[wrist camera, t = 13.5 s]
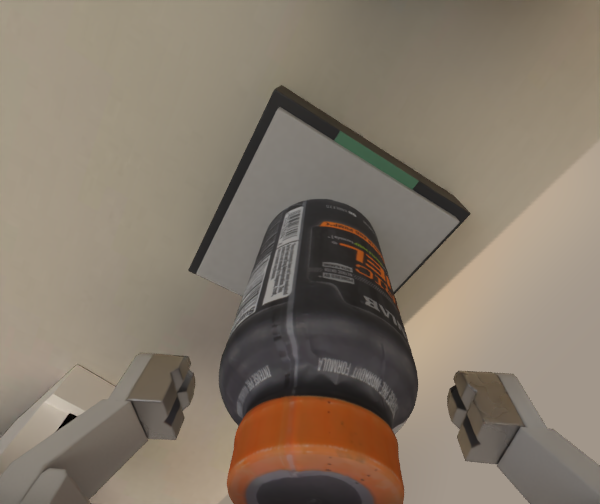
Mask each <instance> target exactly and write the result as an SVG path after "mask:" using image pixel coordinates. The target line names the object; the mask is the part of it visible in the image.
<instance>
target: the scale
mask: <svg viewBox="0 0 600 504" xmlns="http://www.w3.org/2000/svg"><path fill="white" fill-rule="evenodd" d="M310 199H331V200H334V201H338V202H341V203H344V204H347V205H349V206H351V207H353V208H355V209H356V210H358V211H359V212H360V213H361V214H363V215H364V216H365V217H366V218H367V220H368V221H369V222H370V223H371V225H372V227H373V229H374V231H375V233H376V235H377V238H378V242H379V245H380V248H381V252H382V255H383V258H384V262H385V266H386V269H387V271H388V275H389V279H390V282H391V286H392V289H393V292H394V294H395V293H396V292H397V291H398V290H399V289H400V288H401V287H402V286H403V285H404V284H405V282H406V281H407V280H408V279H409V278H410V277H411V276H412V275H413V274H414V273H415V272H416V271H417V270H418V269H419V268H420V267H421V266H422V265H423V264H424V262H425V261H426V260H427V259H428V258H429V257H430V256H431V255H432V254H433V253H434V252H435V251H436V250H437V249H438V248H439V247H440V246H441V245H442V244H443V242H444V241H445V240H446V239H447V238H448V237H449V236H450V235H451V234H452V233H453V232H454V231H455V230H456V229H457V228H458V227H459V226H460V225H461V224H462V223H463V221H464V220H465V219H466V218H467V217H468V216H469V215H470V212H469V211H468V210H467V209H466V208H465V207H464V206H463V205H462V204H461V203H460V202H459V201H458V200H457V199H456V198H455V197H454V196H453V195H452V194H450V193H449V192H447V191H446V190H444V189H443V188H441V187H439V186H438V185H436V184H435V183H433V182H432V181H430V180H429V179H427V178H425V177H424V176H422V175H421V174H419V173H418V172H416V171H415V170H413V169H411V168H410V167H408V166H407V165H405V164H404V163H402V162H401V161H399V160H397V159H396V158H394V157H393V156H391V155H390V154H388V153H387V152H385V151H383V150H382V149H380V148H379V147H377V146H376V145H374V144H373V143H371V142H369V141H368V140H366V139H365V138H363V137H362V136H360V135H359V134H357V133H355V132H354V131H352V130H351V129H349V128H348V127H346V126H344V125H343V124H341V123H340V122H338V121H337V120H335V119H334V118H332V117H330V116H329V115H327V114H326V113H324V112H323V111H321V110H320V109H318V108H316V107H315V106H313V105H312V104H310V103H309V102H307V101H306V100H304V99H302V98H301V97H299V96H298V95H296V94H295V93H293V92H292V91H290V90H288V89H287V88H285V87H284V86H282V85H281V86H280V87H278V88H276V89H275V90H274V91H273V94H272V96H271V98H270V100H269V102H268V104H267V106H266V108H265V110H264V112H263V115H262V117H261V119H260V121H259V123H258V125H257V127H256V129H255V131H254V134H253V136H252V138H251V140H250V142H249V144H248V146H247V148H246V150H245V152H244V155H243V157H242V159H241V161H240V163H239V165H238V167H237V169H236V171H235V173H234V176H233V178H232V180H231V182H230V184H229V186H228V188H227V190H226V192H225V194H224V197H223V199H222V201H221V203H220V205H219V207H218V209H217V211H216V213H215V215H214V218H213V220H212V222H211V224H210V226H209V228H208V230H207V232H206V234H205V236H204V239H203V241H202V243H201V245H200V247H199V249H198V251H197V253H196V255H195V257H194V260H193V262H192V264H191V266H190V268H189V271H190V272H192V273H194V274H196V275H198V276H200V277H202V278H204V279H207V280H209V281H211V282H213V283H215V284H217V285H219V286H221V287H223V288H225V289H228V290H230V291H232V292H234V293H236V294H238V295H240V296H242V297H243V295H244V292H245V289H246V287H247V284H248V281H249V278H250V275H251V272H252V270H253V267H254V264H255V261H256V258H257V255H258V253H259V250H260V247H261V244H262V241H263V238H264V236H265V233H266V231H267V229H268V226H269V225H270V223H271V222H272V221H273V219H274V218H275V217H276V216H277V215H278V214H279V213H280V212H282V211H283V210H284V209H286V208H288V207H289V206H291V205H293V204H296V203H298V202H301V201H306V200H310Z"/></svg>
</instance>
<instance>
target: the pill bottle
mask: <svg viewBox="0 0 600 504" xmlns="http://www.w3.org/2000/svg"><path fill="white" fill-rule="evenodd" d="M219 388H220V393H221V396H222V399H223V402H224V404H225V407H226V409H227V411H228V412H229V414H230V415H231V417H232V418H233V420H234V421H235V422H236V423H237V424H238V426H239V427H238V429H237V432H236V436H235V442H234V451H233V456H232V460H231V465H230V469H229V473H228V479H227V487H228V493H229V496H230V498H231V500H232V502H233V503H234V504H403V500H404V486H403V481H402V476H401V470H400V463H399V458H398V442H397V439H396V437H395V434H396V433H397V432H398V430H400V428H401V427H402V426H403V425H404V423H405V422H406V421H407V419H408V418H409V416H410V414H411V413H412V411H413V408H414V406H415V401H416V397H417V391H418V378H417V370H416V366H415V362H414V359H413V356H412V353H411V349H410V346H409V343H408V339H407V335H406V332H405V329H404V325H403V323H402V319H401V316H400V312H399V309H398V306H397V302H396V298H395V296H394V292H393V289H392V286H391V282H390V279H389V275H388V271H387V269H386V266H385V262H384V258H383V255H382V252H381V248H380V245H379V242H378V238H377V235H376V233H375V231H374V229H373V227H372V225H371V223H370V222H369V221H368V220H367V218H366V217H365V216H364V215H363V214H361V213H360V212H359V211H358V210H356V209H355V208H353V207H351V206H349V205H347V204H344V203H341V202H338V201H334V200H331V199H310V200H306V201H301V202H298V203H296V204H293V205H291V206H289V207H288V208H286V209H284V210H283V211H282V212H280V213H279V214H278V215H277V216H276V217H275V218H274V219H273V221H272V222H271V223H270V225H269V226H268V229H267V231H266V233H265V236H264V238H263V241H262V244H261V247H260V250H259V253H258V255H257V258H256V261H255V264H254V267H253V270H252V272H251V275H250V278H249V281H248V284H247V287H246V289H245V292H244V295H243V298H242V301H241V303H240V306H239V309H238V312H237V315H236V318H235V321H234V324H233V327H232V330H231V333H230V336H229V339H228V342H227V344H226V347H225V350H224V352H223V355H222V359H221V363H220V369H219Z"/></svg>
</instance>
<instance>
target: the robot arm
mask: <svg viewBox="0 0 600 504" xmlns="http://www.w3.org/2000/svg"><path fill="white" fill-rule="evenodd" d="M190 365H191V362H190V358H189V357H188V356H177V355H165V354H152V353H139V354H138V355H137V356H136V357H135V358H134V359H133V361H132V362H131V364H130V365H129V367H128V369H127V370H126V372H125V373H124V375H123V376H122V378H121V379H120V381H119V382H118V384H117V386H116V387H115V389H114V390H113V392H112V393H111V395H110V396H109V398H108V399H102V400H101V401H99V402H98V403H97V404H95V405H94V406H92V407H91V408H89V409H88V410H86V411H85V412H84V413H82V414H81V415H79V416H78V417H76V418H75V419H73V420H72V421H71V422H69V423H68V424H66V425H65V426H63V427H62V428H60V429H59V430H58V431H56V432H55V433H53V434H52V435H50V436H49V437H47V438H46V439H45V440H43V441H42V442H40V443H39V444H37V445H36V446H34V447H33V448H32V449H30V450H29V451H27V452H26V453H24V454H23V455H21V456H20V457H19V458H17V459H16V460H14V461H13V462H11V463H10V465H9V466H8V467H7V468H6V470H5V471H4V472H3V474H2V475H1V476H0V504H91V502H90V501H89V499H90V498H91V497H92V496H93V495H94V494H95V493H96V492H97V491H98V490H99V489H100V488H101V487H102V486H103V485H104V484H105V483H106V482H107V481H108V480H109V479H110V478H111V477H112V476H113V475H114V474H115V473H116V472H117V471H118V470H119V469H120V468H121V467H122V466H123V465H124V464H125V463H126V462H127V461H128V460H129V459H130V458H131V457H132V456H133V455H134V454H135V453H136V452H137V451H138V450H139V449H140V448H141V447H142V446H143V445H144V444H145V443H146V442H147V441H148V439H168V440H176V438H177V436H178V433H179V431H180V428H181V426H182V423H183V421H184V415H183V410H184V409H185V408H186V407H187V406H189V405H190V403H191V400H192V398H193V395H194V389H195V377H194V373H193V372H192V371H190V370H189V368H190ZM454 382H455V384H456V385H455V386H453V387H452V388H450V390H449V393H448V396H447V397H448V398H447V400H448V401H447V402H448V403H447V404H448V405H447V406H448V410H449V415H450V418H451V421H452V422H453V423H454V424H455V425H456V426H457V427H458V428H459V429H460V431H459V433H458V435H457V438H458V441H459V444H460V447H461V450H462V453H463V456H464V458H465V461H470V462H480V463H489V464H498V465H497V467H498V468H499V469H500V470H501V471H502V472H503V474H504V475H505V476H506V477H507V478H508V479H509V480H510V482H511V483H512V484H513V485H514V486H515V487H516V488H517V489H518V491H519V492H520V493H521V494H522V495H523V496H524V497H525V499H526V500H527V501H528V502H529V503H530V504H600V465H598V464H597V463H596V462H595V461H593V460H592V459H591V458H589V457H588V456H587V455H586V454H584V453H583V452H582V451H581V450H579V449H578V448H577V447H576V446H574V445H573V444H572V443H570V442H569V441H568V440H566V439H565V438H564V437H563V436H562V435H560V434H559V433H558V432H557V431H555V430H554V429H548V428H547V427H546V425H545V423H544V422H543V420H542V418H541V417H540V415H539V414H538V412H537V410H536V409H535V407H534V405H533V403H532V402H531V400H530V398H529V397H528V395H527V394H526V392H525V390H524V389H523V387H522V385H521V384H520V382H519V380H518V379H517V377H516V376H515V375H513V374H505V373H492V372H473V371H472V372H471V371H458V372H457V373H456V374H455V376H454Z"/></svg>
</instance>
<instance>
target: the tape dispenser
mask: <svg viewBox="0 0 600 504" xmlns="http://www.w3.org/2000/svg"><path fill="white" fill-rule="evenodd" d="M114 389H115V386H113V385H112V384H110V383H108V382H107V381H105V380H103V379H102V378H100V377H98V376H96V375H95V374H93V373H91V372H90V371H88V370H86V369H84V368H83V367H81V366H79V365H78V364H77V365H76V366H75V367H74V368H72V369H71V370H70V371H69V372H68V373H67V374H66V375H65V376H64V377H63V378H62V379H61V380H59V381H58V382H57V383H56V384H55V385H54V386H53V387H52V388H51V389H50V390H49V391H48V392H46V393H45V394H44V395H43V396H42V397H41V398H40V399H39V400H38V401H37V402H36V403H34V404H33V405H32V406H31V407H30V408H29V409H28V410H27V411H26V412H25V413H24V414H23V415H21V416H20V417H19V418H18V419H17V420H16V421H15V422H14V423H13V424H12V425H11V427H10V428H9V429H8V430H7V431H6V433H5V434H4V435H3V436H2V437H1V438H0V476H1V475H2V474H3V472H4V471H5V470H6V468H7V467H8V466H9V465H10V463H11V462H13V461H14V460H16V459H17V458H19V457H20V456H21V455H23V454H24V453H26V452H27V451H29V450H30V449H32V448H33V447H34V446H36V445H37V444H39V443H40V442H42V441H43V440H45V439H46V438H47V437H49V436H50V435H52V434H53V433H55V432H56V431H57V429H58V428H59V427H60V425H61V424H62V422H63V421H64V420H65V418H66V417H67V416H68V414H69V413H71V414H73V415H75V416H77V417H78V416H79V415H81V414H82V413H84V412H85V411H86V410H88V409H89V408H91V407H92V406H94V405H95V404H97V403H98V402H99V401H101V400H102V399H108V398H109V396H110V395H111V393H112V392H113V390H114Z"/></svg>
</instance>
